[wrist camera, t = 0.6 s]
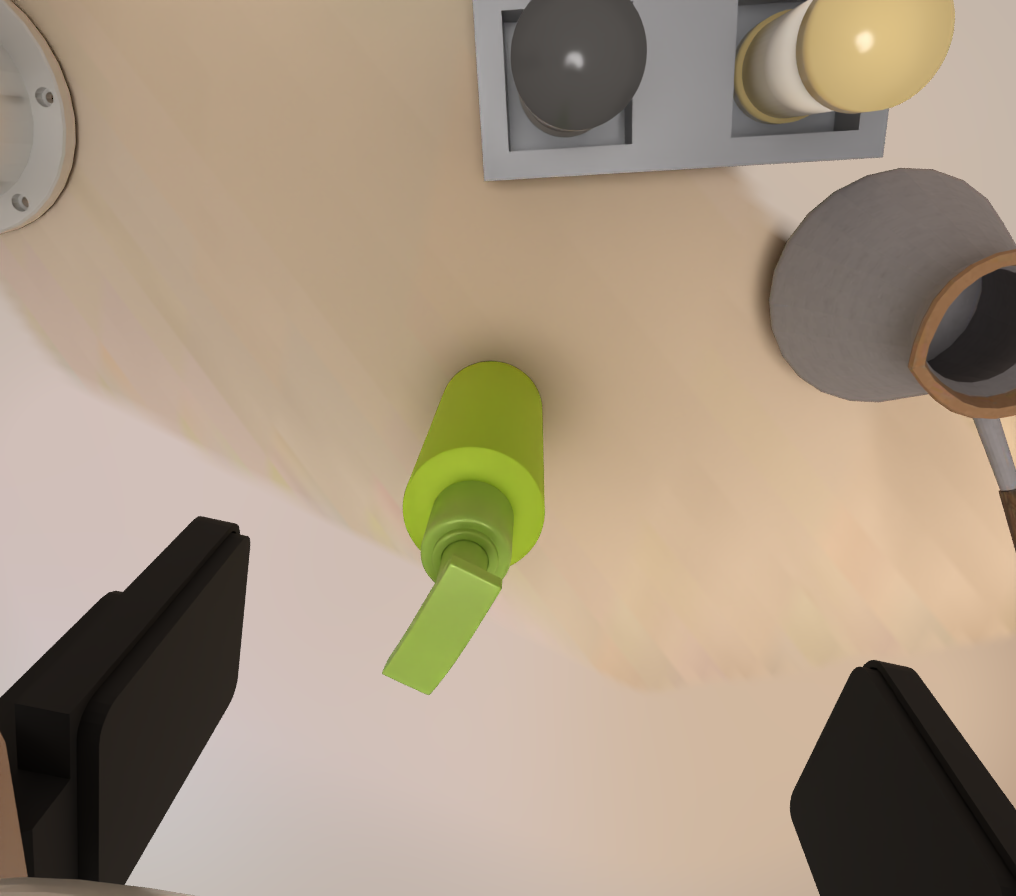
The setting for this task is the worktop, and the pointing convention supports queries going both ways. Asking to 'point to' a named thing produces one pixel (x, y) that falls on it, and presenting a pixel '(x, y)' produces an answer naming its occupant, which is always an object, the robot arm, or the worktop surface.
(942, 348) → the coffee pot
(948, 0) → the fuse
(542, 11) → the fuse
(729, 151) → the fuse holder
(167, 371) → the worktop surface
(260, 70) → the worktop surface
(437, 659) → the soap dispenser
